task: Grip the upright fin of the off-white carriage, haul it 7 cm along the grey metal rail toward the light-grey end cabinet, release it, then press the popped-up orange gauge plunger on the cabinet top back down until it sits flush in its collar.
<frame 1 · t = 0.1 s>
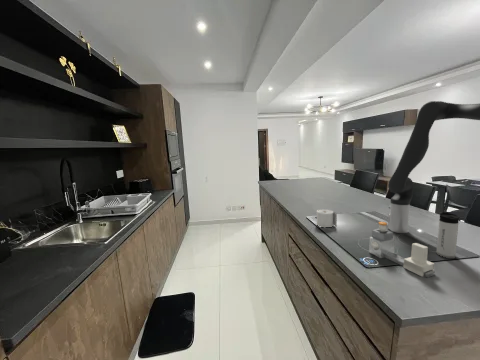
travel mug: (445, 255, 97), on the counter
rail: (407, 265, 91), on the counter
carriage: (418, 257, 86), point 6 cm above the counter, slide at 0.0 cm
plunger: (382, 227, 100), point 13 cm above the counter, slide at 3.0 cm
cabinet: (381, 253, 102), on the counter
toilet tissue: (325, 225, 141), on the counter
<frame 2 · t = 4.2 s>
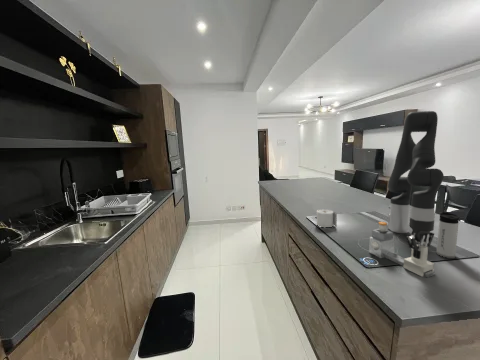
hand: (418, 256, 86), 6 cm above the counter, fingers closed on carriage, 2 cm apart
carriage: (418, 257, 86), point 6 cm above the counter, slide at 0.0 cm, touching gripper
everything else where it was.
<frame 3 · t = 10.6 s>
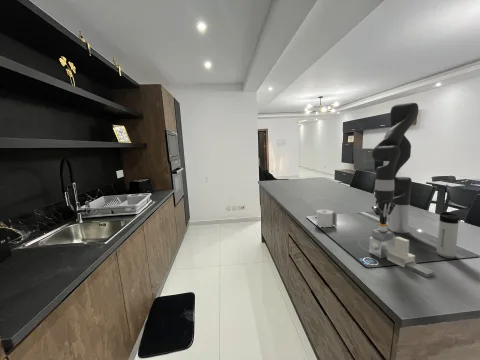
hand: (382, 223, 100), 15 cm above the counter, fingers closed
carriage: (401, 250, 93), point 6 cm above the counter, slide at 7.0 cm
plunger: (382, 228, 100), point 13 cm above the counter, slide at 2.6 cm, touching gripper
everything else where it was.
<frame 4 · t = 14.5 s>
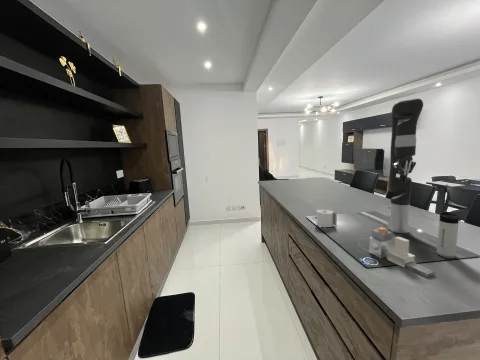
hand: (403, 182, 96), 35 cm above the counter, fingers closed
plunger: (382, 233, 100), point 10 cm above the counter, slide at 0.1 cm
everything else where it was.
at the end: carriage slide at 7.0 cm; plunger slide at 0.1 cm; the gripper is holding nothing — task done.
